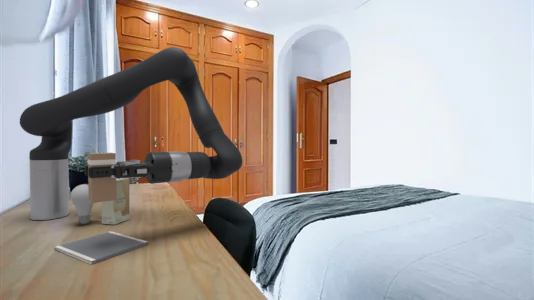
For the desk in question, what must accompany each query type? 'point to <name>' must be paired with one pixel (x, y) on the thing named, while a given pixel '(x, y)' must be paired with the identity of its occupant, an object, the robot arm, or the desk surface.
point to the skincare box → (117, 204)
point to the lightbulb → (82, 202)
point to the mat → (100, 247)
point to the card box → (103, 186)
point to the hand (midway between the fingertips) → (87, 171)
